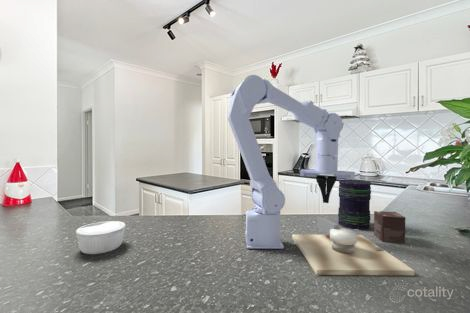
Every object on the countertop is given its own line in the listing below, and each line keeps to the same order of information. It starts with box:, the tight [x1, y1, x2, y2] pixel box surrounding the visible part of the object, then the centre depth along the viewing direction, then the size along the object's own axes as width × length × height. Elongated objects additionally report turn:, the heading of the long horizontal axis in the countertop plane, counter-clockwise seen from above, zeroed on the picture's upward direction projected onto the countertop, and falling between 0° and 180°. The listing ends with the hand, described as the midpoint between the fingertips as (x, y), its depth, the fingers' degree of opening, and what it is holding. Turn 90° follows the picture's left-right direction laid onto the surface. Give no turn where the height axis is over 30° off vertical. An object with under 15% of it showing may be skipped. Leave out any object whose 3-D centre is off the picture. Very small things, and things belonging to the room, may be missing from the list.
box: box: [373, 210, 407, 244], centre depth 68 cm, size 6×6×7 cm
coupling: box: [316, 216, 358, 245], centre depth 61 cm, size 12×6×3 cm, turn 15°
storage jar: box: [337, 179, 372, 231], centre depth 79 cm, size 10×10×15 cm
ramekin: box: [75, 220, 126, 255], centre depth 60 cm, size 11×11×5 cm
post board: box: [291, 233, 416, 276], centre depth 58 cm, size 20×20×3 cm
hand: (325, 202), depth 68 cm, fingers closed
